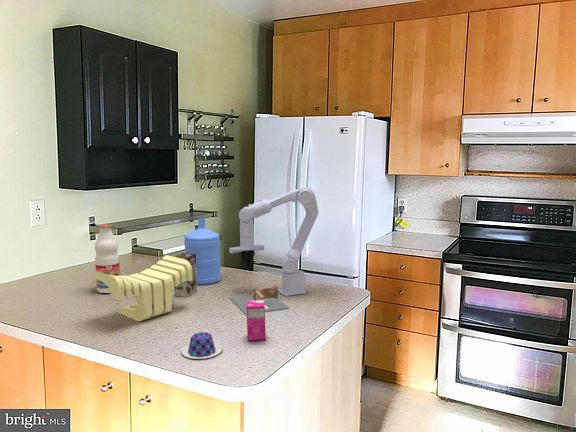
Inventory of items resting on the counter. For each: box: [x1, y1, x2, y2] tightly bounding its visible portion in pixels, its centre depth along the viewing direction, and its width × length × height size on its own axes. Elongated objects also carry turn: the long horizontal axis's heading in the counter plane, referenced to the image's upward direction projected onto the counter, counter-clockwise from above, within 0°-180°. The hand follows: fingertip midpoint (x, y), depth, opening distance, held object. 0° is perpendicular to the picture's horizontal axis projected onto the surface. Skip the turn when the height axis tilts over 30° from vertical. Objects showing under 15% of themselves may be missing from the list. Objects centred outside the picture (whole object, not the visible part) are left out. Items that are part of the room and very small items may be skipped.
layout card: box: [230, 295, 290, 316], centre depth 183 cm, size 17×19×1 cm
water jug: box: [183, 218, 222, 286], centre depth 213 cm, size 16×16×28 cm
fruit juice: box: [94, 223, 121, 294], centre depth 198 cm, size 9×9×28 cm
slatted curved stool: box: [93, 254, 193, 322], centre depth 172 cm, size 30×16×18 cm, turn 140°
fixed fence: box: [252, 285, 279, 301], centre depth 188 cm, size 10×2×5 cm, turn 113°
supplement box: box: [246, 300, 267, 342], centre depth 150 cm, size 6×6×12 cm
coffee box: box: [173, 252, 198, 298], centre depth 195 cm, size 9×6×16 cm
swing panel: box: [255, 290, 264, 301], centre depth 181 cm, size 9×1×4 cm, turn 18°
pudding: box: [181, 331, 223, 360], centre depth 141 cm, size 12×12×5 cm
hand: (247, 268), depth 197 cm, fingers closed
